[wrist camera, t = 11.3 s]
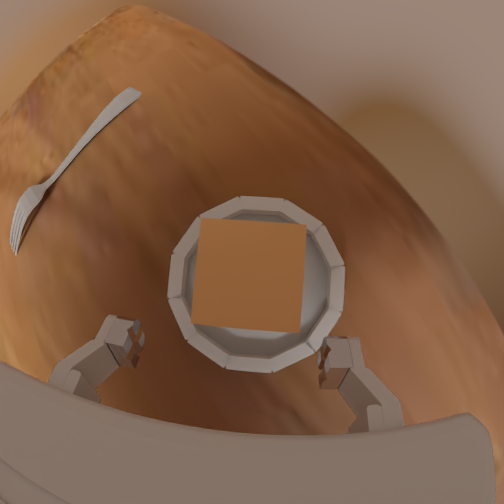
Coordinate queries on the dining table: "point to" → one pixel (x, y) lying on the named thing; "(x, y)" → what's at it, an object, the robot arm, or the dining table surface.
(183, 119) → the dining table surface
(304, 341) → the ring dish
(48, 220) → the dining table surface
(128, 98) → the fork
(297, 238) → the wooden toy brick
